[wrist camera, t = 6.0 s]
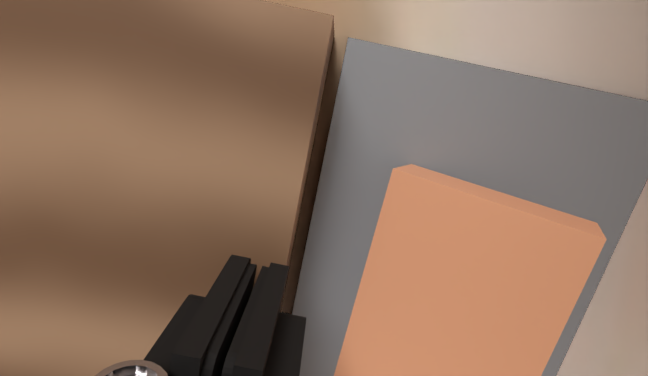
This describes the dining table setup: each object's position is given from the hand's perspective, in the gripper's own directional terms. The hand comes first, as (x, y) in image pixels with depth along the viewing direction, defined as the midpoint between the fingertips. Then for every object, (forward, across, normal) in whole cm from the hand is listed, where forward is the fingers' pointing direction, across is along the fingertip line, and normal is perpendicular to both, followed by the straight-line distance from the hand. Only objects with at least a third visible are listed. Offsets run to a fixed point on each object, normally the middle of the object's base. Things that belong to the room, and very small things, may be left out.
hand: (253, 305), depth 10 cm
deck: (+5, +6, 0) cm, 8 cm away
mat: (+5, -7, 0) cm, 9 cm away
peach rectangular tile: (+1, -6, 0) cm, 6 cm away
